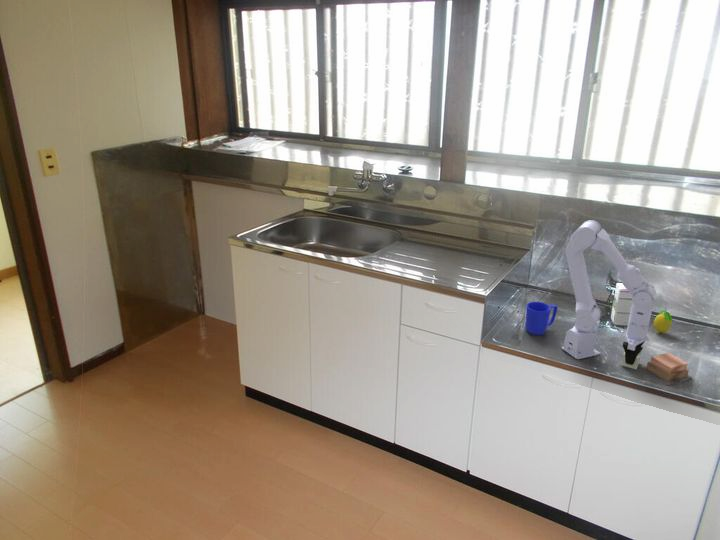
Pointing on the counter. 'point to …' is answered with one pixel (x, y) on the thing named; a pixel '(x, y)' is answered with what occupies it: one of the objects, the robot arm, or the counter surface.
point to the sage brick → (634, 362)
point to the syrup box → (621, 305)
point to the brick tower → (667, 369)
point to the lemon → (663, 322)
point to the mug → (538, 317)
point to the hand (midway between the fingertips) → (630, 360)
